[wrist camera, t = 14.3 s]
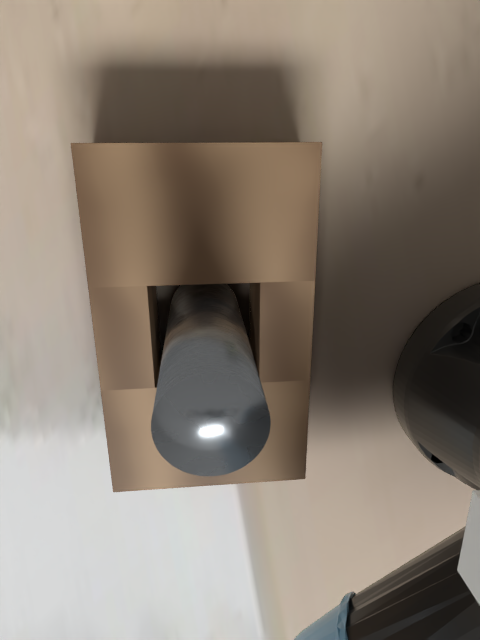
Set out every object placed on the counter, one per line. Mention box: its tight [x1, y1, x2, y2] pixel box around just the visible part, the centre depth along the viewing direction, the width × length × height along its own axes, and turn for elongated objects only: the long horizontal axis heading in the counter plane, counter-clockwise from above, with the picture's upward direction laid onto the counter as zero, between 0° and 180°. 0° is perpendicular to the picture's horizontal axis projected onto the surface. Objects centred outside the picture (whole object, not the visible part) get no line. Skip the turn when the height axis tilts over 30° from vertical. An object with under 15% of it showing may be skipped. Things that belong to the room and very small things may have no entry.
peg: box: [151, 284, 271, 476], centre depth 23 cm, size 4×4×14 cm
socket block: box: [71, 142, 322, 492], centre depth 28 cm, size 12×20×5 cm, turn 0°
